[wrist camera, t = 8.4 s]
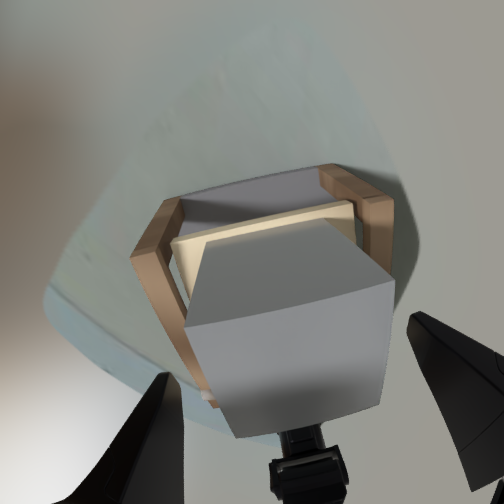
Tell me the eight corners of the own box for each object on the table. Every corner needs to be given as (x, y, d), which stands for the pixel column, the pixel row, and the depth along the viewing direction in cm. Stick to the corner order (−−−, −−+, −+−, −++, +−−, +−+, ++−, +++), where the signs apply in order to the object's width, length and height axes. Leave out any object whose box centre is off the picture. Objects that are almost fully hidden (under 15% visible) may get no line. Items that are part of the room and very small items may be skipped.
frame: (340, 303, 23) (377, 375, 16) (213, 332, 23) (213, 413, 16) (332, 163, 17) (399, 202, 10) (164, 200, 17) (126, 263, 10)
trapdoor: (333, 346, 21) (356, 395, 16) (238, 368, 21) (241, 422, 16) (316, 185, 17) (352, 203, 11) (189, 214, 17) (170, 243, 11)
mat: (340, 303, 23) (343, 307, 22) (213, 332, 23) (213, 337, 22) (332, 163, 17) (335, 165, 16) (164, 200, 17) (162, 203, 17)
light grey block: (331, 314, 13) (379, 404, 8) (233, 335, 13) (236, 438, 8) (322, 217, 11) (395, 279, 6) (206, 241, 12) (183, 328, 6)
